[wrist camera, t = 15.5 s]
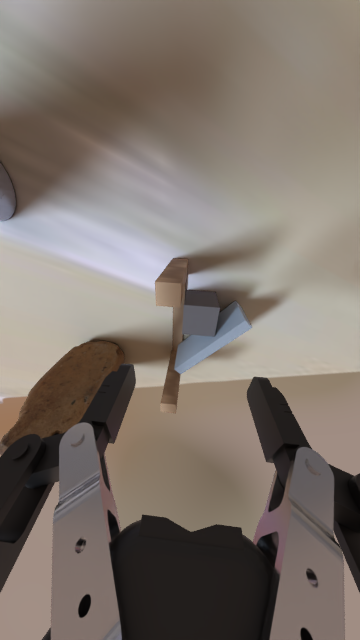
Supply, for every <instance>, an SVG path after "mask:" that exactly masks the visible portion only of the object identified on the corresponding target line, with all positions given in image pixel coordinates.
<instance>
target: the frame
mask: <svg viewBox="0 0 360 640" xmlns="http://www.w3.org/2000/svg"><path fill="white" fill-rule="evenodd" d="M187 272H188V259H174V258H173V259H172V260H171V262H170V263H169V264H168V266H167V267H166V268H165V269H164V271H163V272H162V273H161V275H160V276H159V277H158V279H157V280H156V281H155V291H156V306H168V307H173V350H172V351H171V356H170V361H169V366H168V371H167V375H166V380H165V385H164V390H163V395H162V399H161V412H168V413H176V408H177V398H178V391H179V382H180V373H178V372H177V371H176V370H174V367H175V361H176V355H177V348H178V345H179V344H180V343H181V342H182V338H183V334H182V327H183V310H184V301H185V285H186V279H187Z"/></svg>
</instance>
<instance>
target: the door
mask: <svg viewBox="0 0 360 640" xmlns="http://www.w3.org/2000/svg"><path fill="white" fill-rule="evenodd" d="M251 328H252V326H251V324H250V322H249V320H248V318H247V317H246V315H245V313H244V311H243V309H242V307H241V306H240V305H239V304H238V303H237V302H236V301H234V302H233V303H232V304H230V305H229V306H228V307H226V308H225V309H224V310H223V311H221V312H220V313H219V316H218V321H217V326H216V331H215V336H214V337H211V336H200V335H190V336H189V337H188V338H187V339H185V340H184V341H183V342H181V343H180V344H179V345H178V348H177V355H176V361H175V367H174V370H176V371H177V372H178V373H180V374H182V373H183V372H185V371H186V370H188V369H190V368H191V367H193V366H194V365H196V364H197V363H199V362H200V361H202V360H203V359H205V358H206V357H208V356H210V355H211V354H213V353H214V352H216V351H217V350H219V349H220V348H222V347H223V346H225V345H226V344H228V343H229V342H231V341H233V340H234V339H236V338H237V337H239V336H240V335H242V334H243V333H245V332H246V331H248V330H249V329H251Z"/></svg>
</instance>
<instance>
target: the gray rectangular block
mask: <svg viewBox="0 0 360 640" xmlns="http://www.w3.org/2000/svg"><path fill="white" fill-rule="evenodd" d="M219 311H220V306H219V302H218V299H217V295H216V292H207V291H194V290H186V295H185V301H184V310H183V327H182V334H189V335H200V336H211V337H214V336H215V331H216V326H217V321H218V316H219Z"/></svg>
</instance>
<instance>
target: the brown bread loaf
mask: <svg viewBox="0 0 360 640" xmlns="http://www.w3.org/2000/svg"><path fill="white" fill-rule="evenodd" d="M121 364H124V353H123V351H121V350H120V348H119V346H117V345H116V344H113V343H111V342H106V341H96V342H95V341H91V342H86V343H83V344H81V345H79V346H77V347H74V348H73V349H71V350H70V351H69V352H68V353H67V354H66V355H64V356H63V357H62V358H61V359H60V360H59V361H58V362H57V363H56V364H55V365H54V366H53V367H52V368H51V369H50V370H49V371H48V372H47V373H46V374H45V375H44V376H43V377H42V378H41V379H40V380H39V381H38V382H37V383H36V385H35V386H34V387H33V388H32V389H31V391H30V392H29V394H28V397H27V399H26V401H25V402H24V405H23V406H22V408H21V411H20V413H19V419H18V421H17V422H16V424H15V425H14V427H13V428H11V429H10V431H9V432H8V433H7V434H6V435H4V436H3V438H2V440H1V441H0V454H1V455H2V454H3V453H4V452H5V451H6V449H7V448H8V447H9V446H10V445H11V444H13V443H14V442H15V441H16V440H18V439H20V438H21V437H23V436H26V435H29V434H37V435H38V436H40V437H41V438H45V437H49V436H53V435H57V434H61V433H64V432H67V431H68V430H69V429H70V428H71V427H73V426H74V425H76V424H77V423H78V422H79V421H80V420H81V419H82V417H83V415H84V413H85V412H86V410H87V408H88V407H89V405H90V403H91V401H92V400H93V398H94V396H95V394H96V393H97V391H98V389H99V388H100V386H101V384H102V382H103V381H104V379H105V377H106V376H107V375H108V374H110V373H111V372H112V371H117V370H118V369H119V367H120V365H121Z"/></svg>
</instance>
